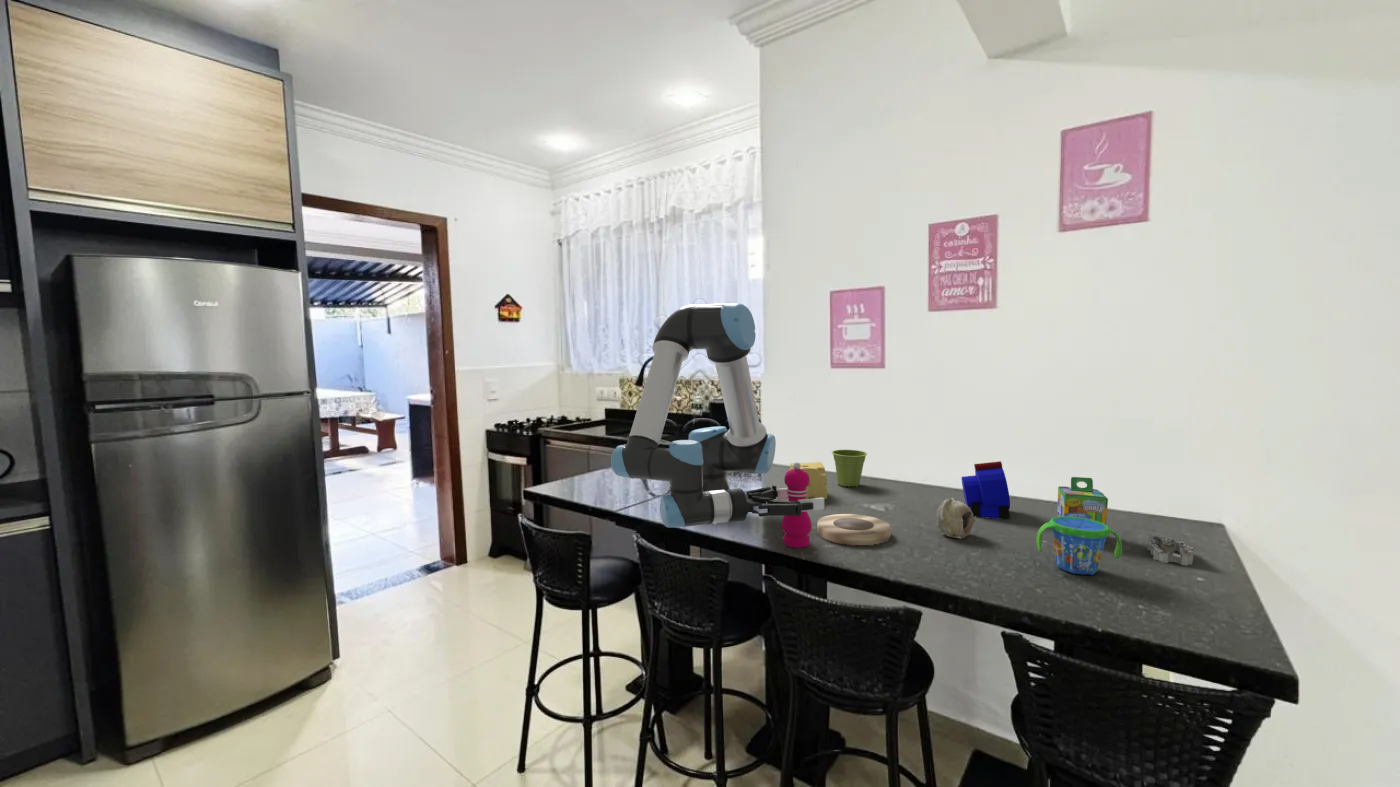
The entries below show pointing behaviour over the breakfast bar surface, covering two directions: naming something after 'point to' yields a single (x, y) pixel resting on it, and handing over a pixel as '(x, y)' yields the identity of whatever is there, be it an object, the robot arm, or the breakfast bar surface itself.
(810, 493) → the cheese
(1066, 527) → the snack cup
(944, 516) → the sea shell
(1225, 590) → the breakfast bar surface
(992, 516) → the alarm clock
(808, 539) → the pepper mill
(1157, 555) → the egg carton
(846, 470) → the plant pot
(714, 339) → the robot arm
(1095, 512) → the chalk box
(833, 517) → the oak base
